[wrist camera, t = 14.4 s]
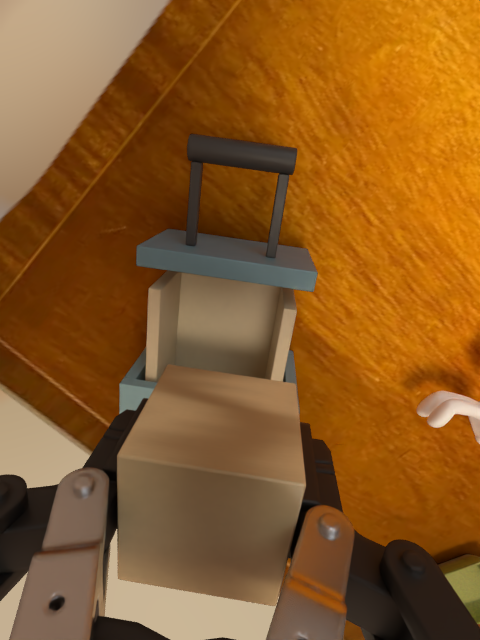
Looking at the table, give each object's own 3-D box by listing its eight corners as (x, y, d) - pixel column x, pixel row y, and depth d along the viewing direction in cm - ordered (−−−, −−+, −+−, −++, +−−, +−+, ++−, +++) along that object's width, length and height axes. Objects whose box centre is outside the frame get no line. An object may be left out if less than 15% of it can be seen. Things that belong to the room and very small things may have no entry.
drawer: (172, 135, 25) (138, 123, 19) (326, 156, 25) (344, 151, 18) (160, 373, 32) (132, 423, 26) (278, 392, 32) (280, 447, 25)
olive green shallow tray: (476, 540, 37) (487, 560, 35) (510, 590, 40) (522, 612, 38) (396, 569, 40) (402, 589, 38) (432, 614, 42) (440, 635, 40)
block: (161, 463, 15) (116, 580, 11) (167, 363, 13) (115, 455, 9) (275, 481, 15) (276, 608, 10) (296, 382, 13) (306, 485, 9)
